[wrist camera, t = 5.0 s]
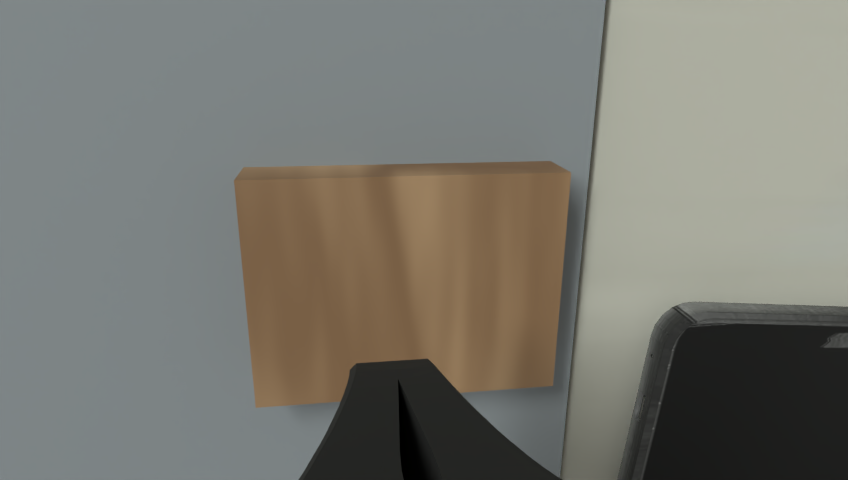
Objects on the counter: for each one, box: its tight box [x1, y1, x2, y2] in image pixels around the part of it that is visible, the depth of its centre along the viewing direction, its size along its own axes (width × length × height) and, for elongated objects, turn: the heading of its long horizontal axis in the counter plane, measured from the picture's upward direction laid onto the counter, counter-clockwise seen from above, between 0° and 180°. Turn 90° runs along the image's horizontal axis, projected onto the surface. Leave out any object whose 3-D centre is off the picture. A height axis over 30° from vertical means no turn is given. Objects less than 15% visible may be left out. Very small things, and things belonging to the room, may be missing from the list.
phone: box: [618, 302, 848, 480], centre depth 21 cm, size 8×1×15 cm
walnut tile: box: [234, 161, 571, 408], centre depth 16 cm, size 2×6×8 cm
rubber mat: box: [0, 0, 606, 480], centre depth 16 cm, size 18×16×1 cm
